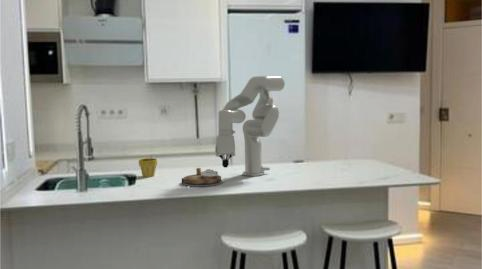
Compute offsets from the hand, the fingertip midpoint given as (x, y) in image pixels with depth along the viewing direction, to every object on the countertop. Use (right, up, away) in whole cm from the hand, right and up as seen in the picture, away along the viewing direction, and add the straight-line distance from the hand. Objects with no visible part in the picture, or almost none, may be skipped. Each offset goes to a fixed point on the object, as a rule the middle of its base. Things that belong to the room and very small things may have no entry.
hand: (225, 167), depth 263 cm
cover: (-8, -5, -2) cm, 10 cm away
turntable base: (-12, -8, -2) cm, 15 cm away
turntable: (-12, -7, -3) cm, 14 cm away
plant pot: (-45, -7, +20) cm, 50 cm away
